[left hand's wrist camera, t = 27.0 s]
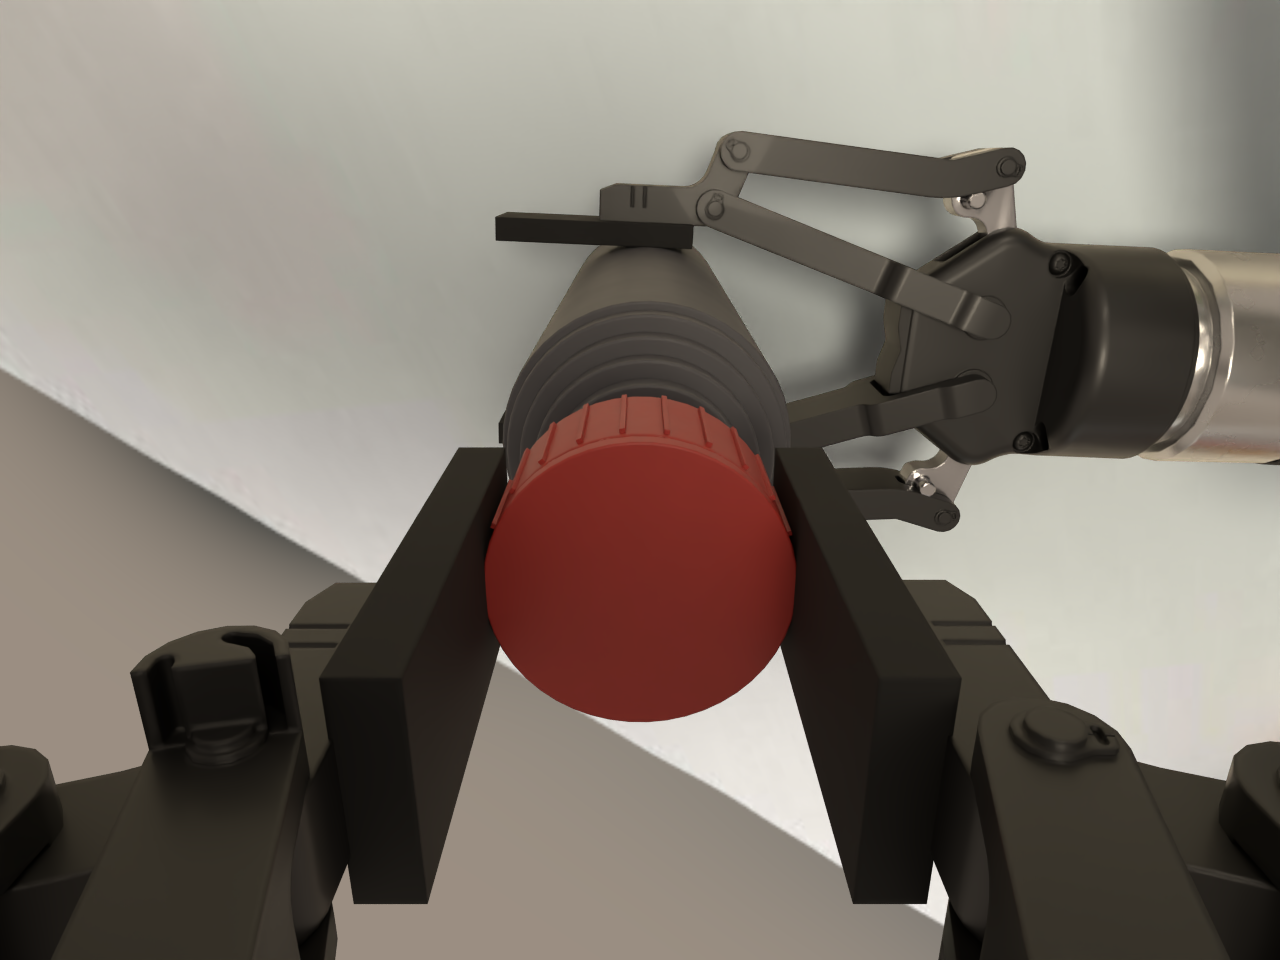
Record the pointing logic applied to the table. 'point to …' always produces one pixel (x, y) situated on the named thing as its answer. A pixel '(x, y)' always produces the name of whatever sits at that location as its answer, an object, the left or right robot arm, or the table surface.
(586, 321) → the bottle
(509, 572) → the cap
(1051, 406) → the right robot arm
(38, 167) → the table surface
